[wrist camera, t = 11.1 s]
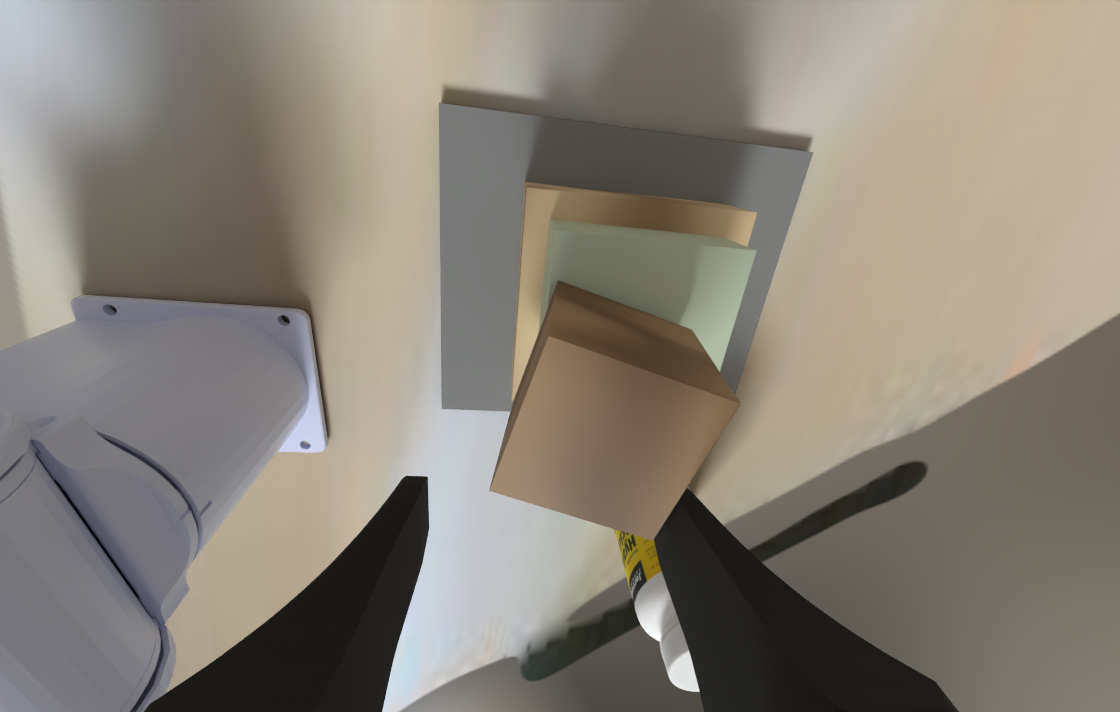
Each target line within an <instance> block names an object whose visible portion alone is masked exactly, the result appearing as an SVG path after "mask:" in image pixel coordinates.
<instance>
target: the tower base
mask: <svg viewBox="0 0 1120 712" xmlns="http://www.w3.org/2000/svg"><path fill="white" fill-rule="evenodd" d="M756 215H757V212H753V211H749V210H745V209H742V208H738V207H734V206H730V205H726V204H721V203H712V202H703V201H694V200H685V199H675V198H666V197H657V196H648V195H639V194H630V193H621V192H612V191H603V190H594V189H585V188H576V187H567V186H558V185H549V184H540V183H531V182H525V183H524V198H523V212H522V227H521V241H520V256H519V270H518V285H517V300H516V314H515V329H514V343H513V358H512V401H514V398H515V395H516V392H517V390H518V387H519V384H520V382H521V379H522V376H523V374H524V371H525V368H526V365H527V363H528V360H529V357H530V355H531V352H532V349H533V347H534V344H535V341H536V339H537V336H538V331H539V321H540V311H541V301H542V291H543V281H544V271H545V261H546V251H547V241H548V231H549V221H550V219H554V220H563V221H573V222H582V223H592V224H602V225H611V226H621V227H630V228H640V229H649V230H659V231H668V232H678V233H688V234H697V235H707V236H716V237H725V238H727V239H730V240H732V241H734V242H737V243H739V244H742V245H744V246H746V247H747V246H748V243H749V240H750V236H751V233H752V229H753V226H754V222H755V219H756Z"/></svg>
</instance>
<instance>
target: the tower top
mask: <svg viewBox="0 0 1120 712" xmlns="http://www.w3.org/2000/svg"><path fill="white" fill-rule="evenodd" d="M755 255H756V250H754V249H751V248H749V247H746V246H744V245H742V244H739V243H737V242H734V241H732V240H730V239H727V238H725V237H716V236H707V235H697V234H688V233H678V232H668V231H659V230H649V229H640V228H630V227H621V226H611V225H602V224H592V223H582V222H573V221H563V220H554V219H550V221H549V231H548V241H547V251H546V261H545V271H544V281H543V291H542V301H541V311H540V321H539V330H540V328H541V325H542V322H543V320H544V317H545V314H546V312H547V309H548V306H549V303H550V301H551V298H552V295H553V293H554V290H555V287H556V285H557V282H558V280H559V281H562V282H564V283H567V284H570V285H573V286H575V287H578V288H581V289H583V290H586V291H589V292H591V293H594V294H597V295H600V296H602V297H605V298H608V299H610V300H613V301H616V302H619V303H621V304H624V305H627V306H629V307H632V308H635V309H638V310H640V311H643V312H646V313H648V314H651V315H654V316H657V317H659V318H662V319H665V320H667V321H670V322H673V323H675V324H678V325H681V326H684V327H686V328H689V329H692V330H693V332H694V333H695V335H696V336H697V338H698V340H699V341H700V343H701V344H702V346H703V347H704V349H705V350H706V352H707V353H708V355H709V356H710V358H711V359H712V361H713V362H714V364H715V365H716V367H717V369H718V370H719V372H720V369H721V366H722V363H723V359H724V356H725V353H726V349H727V346H728V343H729V340H730V336H731V333H732V330H733V327H734V323H735V320H736V317H737V313H738V310H739V307H740V304H741V300H742V297H743V294H744V291H745V287H746V284H747V281H748V277H749V274H750V271H751V268H752V264H753V261H754V258H755ZM538 333H539V331H538Z"/></svg>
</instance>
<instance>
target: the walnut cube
mask: <svg viewBox="0 0 1120 712" xmlns="http://www.w3.org/2000/svg"><path fill="white" fill-rule="evenodd" d="M739 405H740V402H739V401H738V399H737V397H736V396H735V394H734V393H733V391H732V390H731V388H730V387H729V385H728V384H727V382H726V381H725V379H724V378H723V376H722V375H721V373H720V372H719V370H718V369H717V367H716V365H715V364H714V362H713V361H712V359H711V358H710V356H709V355H708V353H707V352H706V350H705V349H704V347H703V346H702V344H701V343H700V341H699V340H698V338H697V336H696V335H695V333H694V332H693V330H692V329H689V328H686V327H684V326H681V325H678V324H675V323H673V322H670V321H667V320H665V319H662V318H659V317H657V316H654V315H651V314H648V313H646V312H643V311H640V310H638V309H635V308H632V307H629V306H627V305H624V304H621V303H619V302H616V301H613V300H610V299H608V298H605V297H602V296H600V295H597V294H594V293H591V292H589V291H586V290H583V289H581V288H578V287H575V286H573V285H570V284H567V283H564V282H562V281H559V280H558V282H557V285H556V287H555V290H554V293H553V295H552V298H551V301H550V303H549V306H548V309H547V312H546V314H545V317H544V320H543V322H542V325H541V328H540V330H539V333H538V336H537V339H536V341H535V344H534V347H533V349H532V352H531V355H530V357H529V360H528V363H527V365H526V368H525V371H524V374H523V376H522V379H521V382H520V384H519V387H518V390H517V392H516V395H515V398H514V401H513V405H512V408H511V412H510V416H509V419H508V423H507V427H506V431H505V434H504V438H503V442H502V445H501V449H500V453H499V456H498V460H497V464H496V468H495V471H494V475H493V479H492V482H491V486H490V490H489V491H492V492H495V493H499V494H502V495H505V496H508V497H512V498H515V499H518V500H522V501H525V502H528V503H531V504H535V505H538V506H541V507H544V508H548V509H551V510H554V511H557V512H561V513H564V514H567V515H570V516H574V517H577V518H580V519H584V520H587V521H590V522H593V523H597V524H600V525H603V526H606V527H610V528H613V529H616V530H619V531H623V532H626V533H629V534H633V535H636V536H639V537H642V538H646V539H649V540H652V541H653V540H654V538H655V536H656V535H657V533H658V532H659V530H660V529H661V527H662V526H663V524H664V522H665V521H666V519H667V518H668V516H669V515H670V513H671V511H672V510H673V508H674V507H675V505H676V504H677V502H678V501H679V499H680V497H681V496H682V494H683V493H684V491H685V490H686V488H687V487H688V485H689V483H690V482H691V480H692V479H693V477H694V476H695V474H696V472H697V471H698V469H699V468H700V466H701V465H702V463H703V462H704V460H705V458H706V457H707V455H708V454H709V452H710V451H711V449H712V448H713V446H714V444H715V443H716V441H717V440H718V438H719V437H720V435H721V433H722V432H723V430H724V429H725V427H726V426H727V424H728V423H729V421H730V419H731V418H732V416H733V415H734V413H735V412H736V410H737V409H738V407H739Z"/></svg>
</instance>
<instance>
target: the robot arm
mask: <svg viewBox="0 0 1120 712" xmlns="http://www.w3.org/2000/svg"><path fill="white" fill-rule="evenodd" d="M110 305H112V306H113V307H115V308H116V310H117V312H115V311H114V310H112V308H111V307H110ZM71 308H72V310H73V313H74V315H75V318H76V321H74V322H72V323H69V324H66V325H64V326H61V327H59V328H56V329H54V330H51V331H49V332H46V333H44V334H41V335H39V336H36V337H33V338H31V339H28V340H26V341H23V342H21V343H18V344H16V345H13V346H11V347H8V348H5V349H3V350H1V351H0V712H382V709H383V704H384V700H385V695H386V690H387V686H388V681H389V677H390V672H391V667H392V663H393V659H394V655H395V651H396V648H397V644H398V641H399V637H400V634H401V631H402V628H403V624H404V621H405V618H406V615H407V611H408V608H409V605H410V602H411V599H412V595H413V592H414V589H415V585H416V582H417V579H418V576H419V572H420V569H421V566H422V562H423V557H424V552H425V547H426V541H427V536H428V531H429V511H428V477H423V476H405V477H404V478H403V479H402V480H401V481H400V483H399V484H398V486H397V487H396V488H395V490H394V491H393V493H392V494H391V495H390V497H389V498H388V499H387V500H386V502H385V503H384V504H383V506H382V507H381V508H380V509H379V511H378V512H377V513H376V514H375V515H374V517H373V518H372V519H371V520H370V521H369V523H368V524H367V525H366V526H365V527H364V528H363V530H362V531H361V532H360V533H359V534H358V535H357V537H356V538H355V539H354V540H353V541H352V542H351V543H350V544H349V545H348V546H347V547H346V548H345V549H344V551H343V552H342V553H341V554H340V555H339V556H338V557H337V558H336V559H335V560H334V561H333V562H332V563H331V564H330V565H329V566H328V567H327V568H326V569H325V570H324V571H323V572H322V573H321V574H320V575H319V576H318V577H317V578H316V579H315V580H314V581H312V582H311V583H310V584H309V585H308V586H307V587H306V588H305V589H304V590H303V591H302V592H301V593H299V594H298V595H297V596H296V597H295V598H294V599H292V600H291V601H290V602H289V603H288V604H287V605H285V606H284V607H283V608H282V609H281V610H280V611H279V612H277V613H276V614H275V615H274V616H272V617H271V618H270V619H269V620H268V621H266V622H265V623H264V624H263V625H261V626H260V627H259V628H257V629H256V630H255V631H253V632H252V633H251V634H249V635H248V636H247V637H245V638H244V639H243V640H242V641H240V642H239V643H238V644H236V645H235V646H234V647H232V648H231V649H230V650H228V651H227V652H226V653H224V654H223V655H222V656H220V657H219V658H217V659H216V660H215V661H213V662H212V663H210V664H209V665H208V666H206V667H205V668H203V669H202V670H200V671H199V672H197V673H196V674H194V675H193V676H191V677H190V678H188V679H187V680H185V681H184V682H182V683H181V684H179V685H178V686H176V687H175V688H173V689H172V690H170V691H169V692H167V689H168V687H169V684H170V682H171V679H172V676H173V672H174V668H175V663H176V646H175V642H174V639H173V636H172V634H171V632H170V631H169V630H168V628H167V627H166V626H165V625H164V624H165V623H166V622H167V620H168V619H169V618H170V616H171V615H172V614H173V612H174V611H175V609H176V608H177V607H178V605H179V604H180V603H181V601H182V600H183V598H184V597H185V596H186V594H187V593H188V592H189V587H188V585H187V583H186V571H187V569H188V567H189V566H190V564H191V562H192V561H193V560H194V559H195V558H196V556H197V555H198V554H199V553H200V551H201V550H202V549H203V547H204V546H205V545H206V543H207V542H208V541H209V540H210V538H211V537H212V536H213V534H214V533H215V532H216V531H217V529H218V528H219V527H220V525H221V524H222V523H223V521H224V520H225V519H226V518H227V516H228V515H229V514H230V512H231V511H232V510H233V509H234V507H235V506H236V505H237V503H238V502H239V501H240V499H241V498H242V497H243V496H244V494H245V493H246V492H247V490H248V489H249V488H250V487H251V485H252V484H253V483H254V481H255V480H256V479H257V477H258V476H259V475H260V474H261V472H262V471H263V470H264V468H265V467H266V466H267V465H268V463H269V462H270V461H271V459H272V458H273V457H274V455H275V454H276V453H277V452H322V451H324V449H325V448H326V446H327V445H328V438H327V431H326V424H325V418H324V411H323V404H322V397H321V390H320V383H319V377H318V370H317V363H316V356H315V349H314V342H313V336H312V329H311V322H310V318H309V315H308V314H307V313H306V312H305V311H303V310H301V309H296V308H280V307H265V306H250V305H234V304H219V303H203V302H188V301H173V300H157V299H142V298H126V297H111V296H96V295H82V296H79V297H76V298H74V299H73V300H72V301H71ZM282 315H284V316H286V317H288V318H289V320H290V323H287V322H284V321H283V320H282V318H281V316H282ZM304 441H307V442H309V443H310V445H308V444H306V443H304ZM654 542H655V547H656V552H657V556H658V561H659V565H660V568H661V571H662V574H663V577H664V580H665V583H666V585H667V588H668V591H669V594H670V597H671V600H672V603H673V606H674V608H675V611H676V614H677V617H678V620H679V623H680V625H681V628H682V631H683V634H684V637H685V640H686V643H687V646H688V649H689V653H690V656H691V659H692V663H693V667H694V671H695V675H696V679H697V683H698V687H699V691H700V695H701V699H702V704H703V708H704V712H958V710H957V709H956V708H955V706H954V705H953V704H952V702H951V701H950V700H949V699H948V697H947V696H946V695H945V693H944V692H943V691H942V690H941V688H940V687H939V686H938V685H937V683H936V682H935V681H933V680H932V679H930V678H928V677H926V676H924V675H923V674H921V673H919V672H917V671H916V670H914V669H912V668H911V667H909V666H907V665H905V664H903V663H902V662H900V661H898V660H897V659H895V658H893V657H891V656H890V655H888V654H886V653H884V652H883V651H881V650H880V649H878V648H876V647H875V646H873V645H872V644H870V643H869V642H867V641H865V640H864V639H862V638H861V637H859V636H857V635H856V634H854V633H853V632H851V631H850V630H848V629H847V628H845V627H844V626H842V625H841V624H839V623H838V622H836V621H835V620H834V619H832V618H831V617H830V616H828V615H827V614H825V613H824V612H823V611H821V610H820V609H818V608H817V607H815V606H814V605H813V604H811V603H810V602H809V601H807V600H806V599H805V598H804V597H802V596H801V595H800V594H798V593H797V592H796V591H795V590H793V589H792V588H791V587H789V586H788V585H787V584H786V583H785V582H784V581H782V580H781V579H780V578H779V577H777V576H776V575H775V574H774V573H773V572H772V571H770V570H769V569H768V568H767V567H766V566H765V565H764V564H763V563H762V562H760V561H759V560H758V559H757V558H756V557H755V556H754V555H753V554H752V553H751V552H750V551H749V550H747V549H746V548H745V547H744V546H743V545H742V544H741V543H740V542H739V541H738V540H737V539H736V538H735V537H734V536H733V535H732V534H731V533H730V532H729V531H728V530H727V529H726V528H725V527H724V526H723V525H722V524H721V523H720V522H719V521H718V520H717V518H716V517H715V516H714V515H713V514H712V513H711V512H710V511H709V510H708V509H707V508H706V507H705V506H704V505H703V504H702V503H701V501H700V500H699V499H698V498H697V497H696V496H695V495H694V494H693V493H692V492H691V491H690V490H689V489H688V488H686V490H685V491H684V493H683V494H682V496H681V497H680V499H679V501H678V502H677V504H676V505H675V507H674V508H673V510H672V511H671V513H670V515H669V516H668V518H667V519H666V521H665V522H664V524H663V526H662V527H661V529H660V530H659V532H658V533H657V535H656V536H655V538H654ZM166 692H167V693H166Z"/></svg>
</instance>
